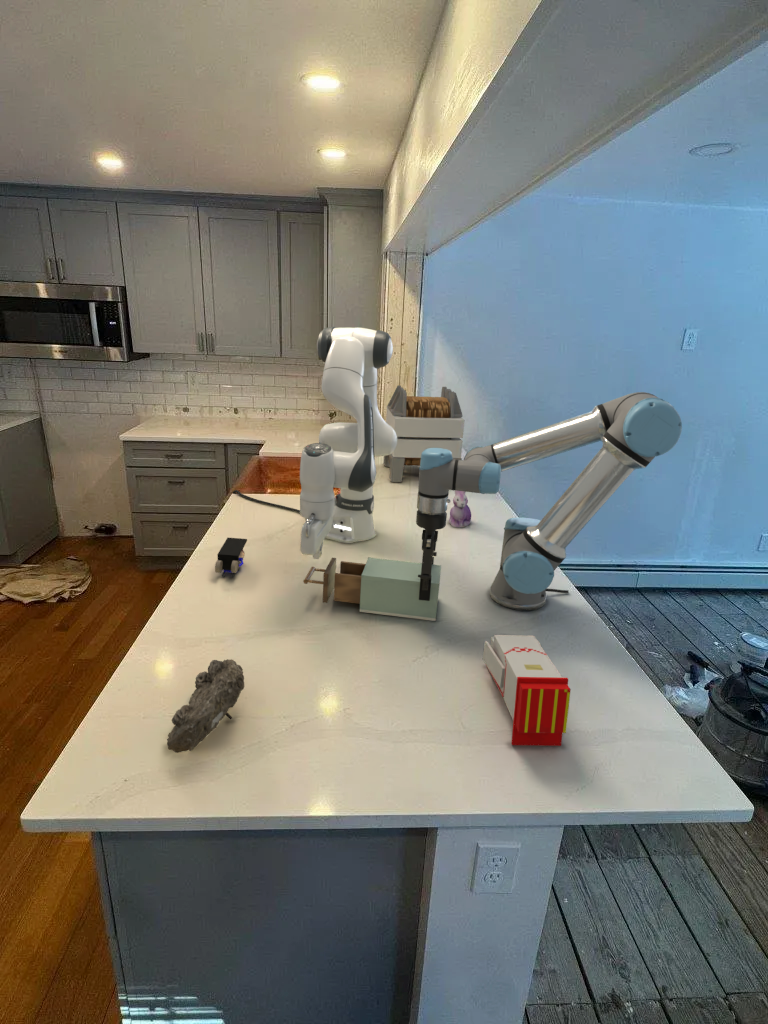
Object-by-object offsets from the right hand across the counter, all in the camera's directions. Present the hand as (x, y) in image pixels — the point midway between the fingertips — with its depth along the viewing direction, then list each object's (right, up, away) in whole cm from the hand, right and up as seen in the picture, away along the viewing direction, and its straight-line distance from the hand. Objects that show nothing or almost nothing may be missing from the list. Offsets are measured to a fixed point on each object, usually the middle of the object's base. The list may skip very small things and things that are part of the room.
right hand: (425, 589), depth 149 cm
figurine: (+17, +16, +63) cm, 67 cm away
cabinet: (-7, -5, +3) cm, 9 cm away
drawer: (-20, -2, +4) cm, 20 cm away
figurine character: (-56, +3, +19) cm, 59 cm away
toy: (+17, -18, -31) cm, 40 cm away
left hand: (-29, +8, +1) cm, 30 cm away
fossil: (-44, -19, -41) cm, 63 cm away
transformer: (+6, +39, +126) cm, 132 cm away
